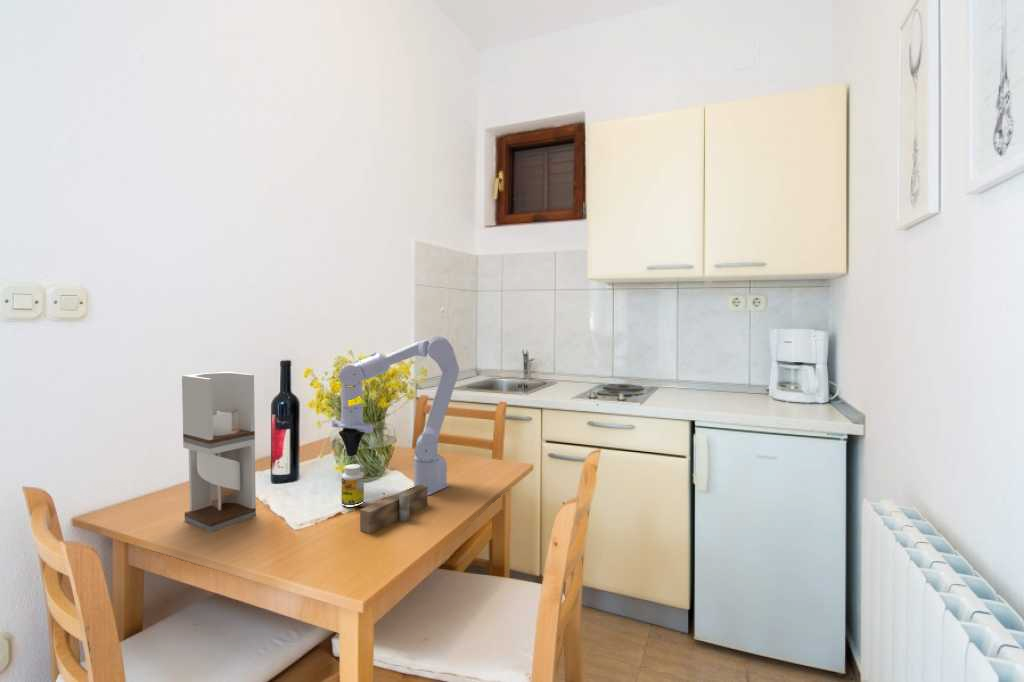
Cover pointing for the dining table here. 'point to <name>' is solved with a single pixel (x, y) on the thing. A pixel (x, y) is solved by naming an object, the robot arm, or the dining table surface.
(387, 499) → the stop bar
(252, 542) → the dining table surface
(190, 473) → the white tower model
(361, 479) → the supplement bottle
